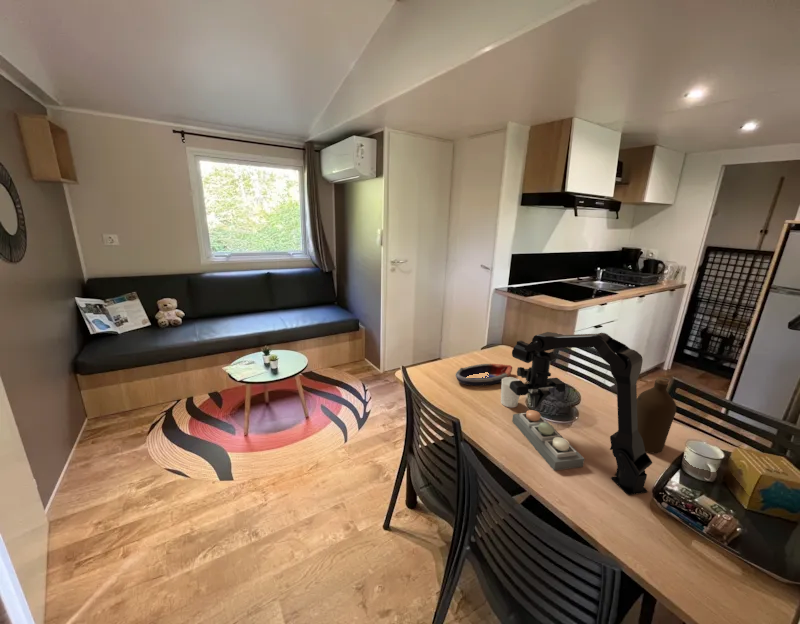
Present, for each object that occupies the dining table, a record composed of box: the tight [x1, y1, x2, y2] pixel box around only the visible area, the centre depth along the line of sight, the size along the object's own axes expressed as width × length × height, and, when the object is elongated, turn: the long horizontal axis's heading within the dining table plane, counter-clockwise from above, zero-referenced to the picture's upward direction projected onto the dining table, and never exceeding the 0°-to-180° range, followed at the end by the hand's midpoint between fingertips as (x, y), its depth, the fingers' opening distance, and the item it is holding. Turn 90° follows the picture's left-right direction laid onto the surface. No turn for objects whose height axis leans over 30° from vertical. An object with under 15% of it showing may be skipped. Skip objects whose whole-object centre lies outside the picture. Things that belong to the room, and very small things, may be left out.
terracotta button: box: [525, 409, 542, 422], centre depth 123 cm, size 5×5×2 cm
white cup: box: [500, 376, 521, 409], centre depth 139 cm, size 8×8×10 cm
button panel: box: [511, 412, 585, 471], centre depth 117 cm, size 26×10×4 cm, turn 10°
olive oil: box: [637, 376, 677, 454], centre depth 113 cm, size 11×11×25 cm
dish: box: [455, 363, 513, 387], centre depth 161 cm, size 16×31×5 cm, turn 109°
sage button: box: [538, 422, 555, 435], centre depth 116 cm, size 5×5×2 cm
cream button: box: [552, 437, 571, 451], centre depth 108 cm, size 5×5×2 cm
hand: (534, 407), depth 122 cm, fingers closed
